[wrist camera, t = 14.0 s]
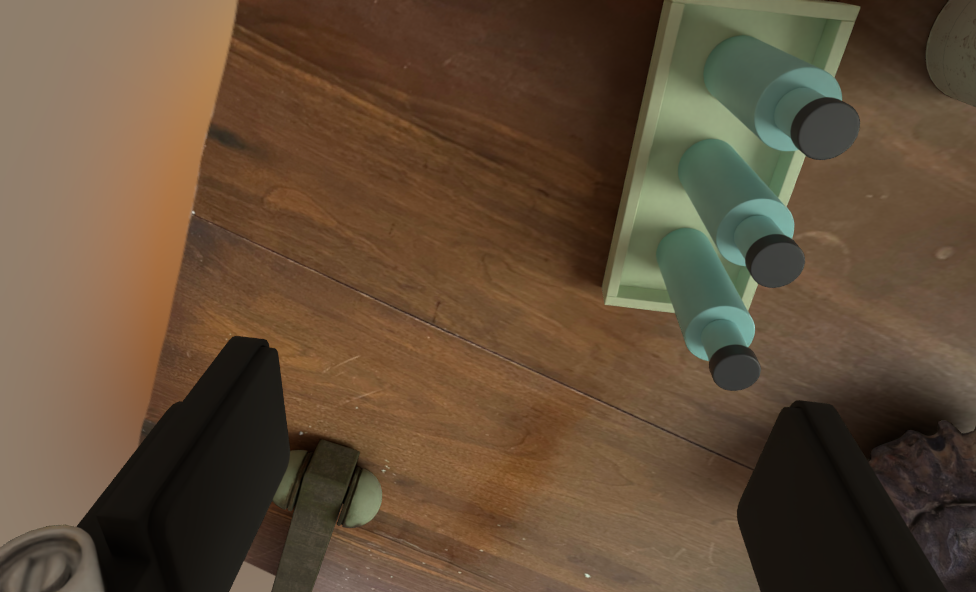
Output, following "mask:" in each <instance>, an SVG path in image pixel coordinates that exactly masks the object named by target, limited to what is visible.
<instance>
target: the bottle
mask: <svg viewBox="0 0 976 592" xmlns="http://www.w3.org/2000/svg"><path fill="white" fill-rule="evenodd" d="M656 259H657V262H658V265H659V268H660V271H661V274H662V277H663V280H664V283H665V285H666V288H667V291H668V294H669V297H670V300H671V303H672V306H673V308H674V311H675V314H676V317H677V320H678V323H679V326H680V329H681V332H682V334H683V337H684V340H685V343H686V346H687V348H688V349H689V351H690V352H691V353H692V354H694V355H695V356H697V357H698V358H701V359H703V360H707V361H709V370H710V372H711V375H712V377H713V380H714V382H715V383H716V384H717V385H718V386H719V387H721V388H723V389H725V390H730V391H737V390H742V389H745V388H748V387H749V386H751V385H752V384H754V383H755V382H756V381H757V379H758V378H759V376H760V372H761V367H760V364H759V362H758V360H757V358H756V356H755V354H754V352H753V351H752V350H751V349H749V348H748V346H749V345H750V344H751V342H752V340H753V338H754V334H755V325H754V322H753V320H752V318H751V316H750V314H749V312H748V310H747V309H746V307H745V305H744V303H743V301H742V299H741V298H740V296H739V294H738V292H737V290H736V288H735V287H734V285H733V283H732V281H731V279H730V277H729V276H728V274H727V272H726V270H725V268H724V266H723V265H722V263H721V261H720V259H719V257H718V255H717V254H716V252H715V250H714V248H713V246H712V244H711V243H710V241H709V239H708V237H707V236H706V235H705V234H704V233H702V232H701V231H699V230H696V229H692V228H681V229H677V230H675V231H672V232H670V233H669V234H667V235H666V236H665V237H664V238H663V239H662V240H661V242H660V243H659V245H658V247H657V251H656Z"/></svg>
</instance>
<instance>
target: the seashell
mask: <svg viewBox="0 0 976 592" xmlns="http://www.w3.org/2000/svg"><path fill="white" fill-rule="evenodd" d="M868 463H869V464H870V466H871V467H872V469H873V471H874V472H875V474H876V476H877V477H878V479H879V481H880V482H881V484H882V485H883V487H884V489H885V490H886V492H887V494H888V495H889V497H890V498H891V500H892V502H893V503H894V505H895V507H896V508H897V510H898V512H899V513H900V515H901V516H902V518H903V520H904V521H905V523H906V525H907V526H908V528H909V529H910V531H911V533H912V534H913V536H914V538H915V539H916V541H917V542H918V544H919V546H920V547H921V549H922V551H923V552H924V554H925V556H926V557H927V559H928V560H929V562H930V564H931V565H932V567H933V569H934V570H935V572H936V573H937V575H938V577H939V578H940V580H941V582H942V583H943V585H944V587H945V588H946V590H947V591H948V592H976V427H975V429H974V431H971V432H968V433H966V434H963V433H961V432H960V431H959V430H958V429H957V428H956V427H955V426H954V425H953V424H952V423H950V422H948V421H946V420H942V421H939V422H938V427H937V431H936V434H934V435H931V436H926V435H924V434H922V433H919V432H917V431H913V430H906V432H905V434H904V435H903V436H902V437H900V438H898V439H896V440H893V441H891V442H888V443H885V444H883V445H880V446H878V447H875V448H873V450H872V452H871V460H870V461H869V462H868Z"/></svg>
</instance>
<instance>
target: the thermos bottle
mask: <svg viewBox="0 0 976 592" xmlns="http://www.w3.org/2000/svg"><path fill="white" fill-rule="evenodd" d="M926 64H927V70H928V72H929V75H930V78H931V80H932V81H933V83H934V84H935V85H936V87H937V88H938V89H939V90H941V91H942V92H943V93H944V94H946V95H948V96H950V97H952V98H955V99H957V100H959V101H962V102H964V103H967V104H969V105H971V106H974V107H976V0H949V1H948V2H947V4H946V5H945V6H944V8H943V9H942V11H941V12H940V14H939V15H938V17H937V19H936V21H935V23H934V25H933V27H932V29H931V32H930V35H929V38H928V41H927V48H926Z"/></svg>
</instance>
